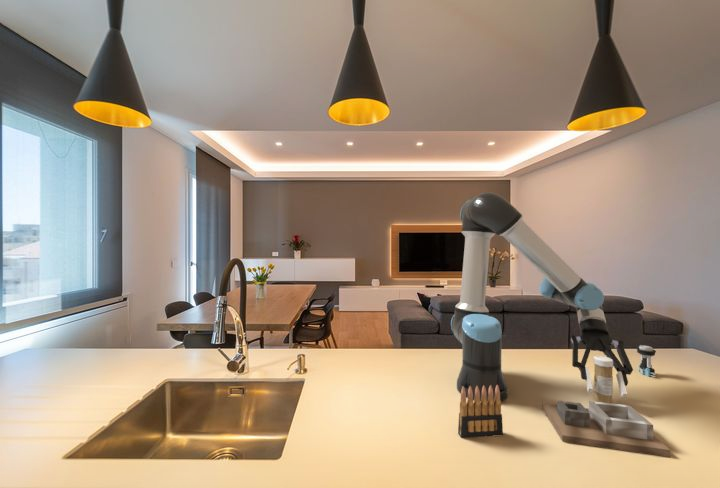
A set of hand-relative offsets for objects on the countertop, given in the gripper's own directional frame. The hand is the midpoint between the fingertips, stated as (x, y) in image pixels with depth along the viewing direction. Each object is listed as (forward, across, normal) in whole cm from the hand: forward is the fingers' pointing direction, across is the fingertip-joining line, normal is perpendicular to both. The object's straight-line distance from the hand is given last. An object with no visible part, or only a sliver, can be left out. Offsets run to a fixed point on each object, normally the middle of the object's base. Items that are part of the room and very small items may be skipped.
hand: (606, 393), depth 90 cm
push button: (-23, -21, -29) cm, 42 cm away
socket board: (+13, +5, +6) cm, 15 cm away
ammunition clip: (+24, +32, +17) cm, 43 cm away
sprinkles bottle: (+1, 0, -6) cm, 6 cm away
